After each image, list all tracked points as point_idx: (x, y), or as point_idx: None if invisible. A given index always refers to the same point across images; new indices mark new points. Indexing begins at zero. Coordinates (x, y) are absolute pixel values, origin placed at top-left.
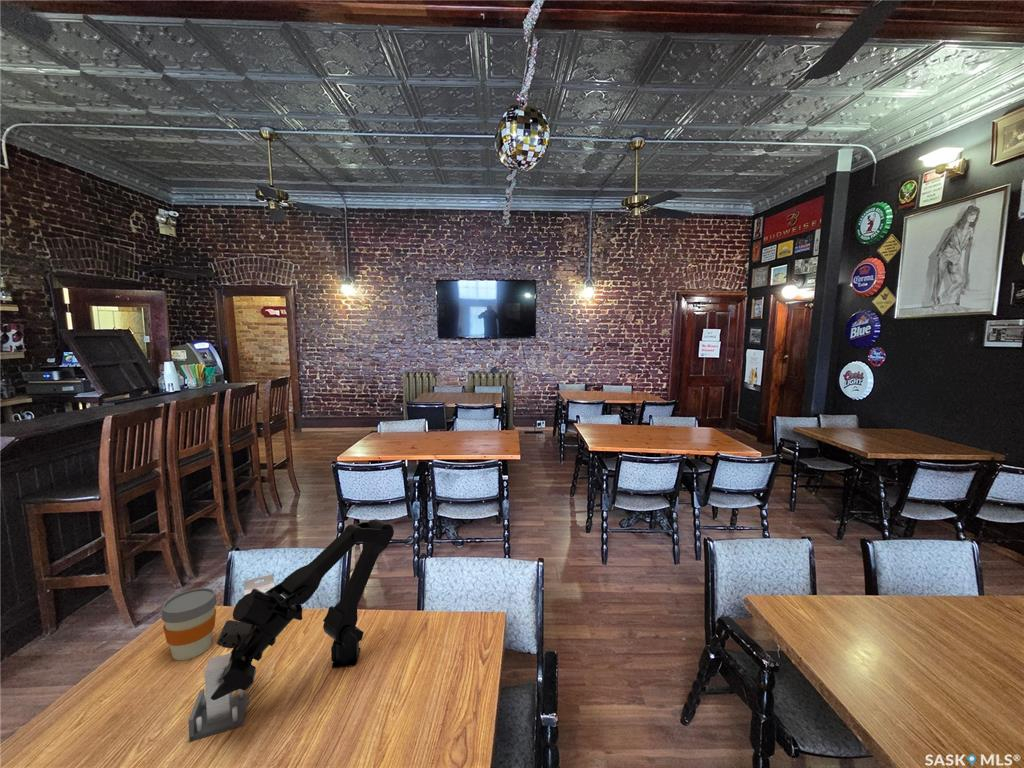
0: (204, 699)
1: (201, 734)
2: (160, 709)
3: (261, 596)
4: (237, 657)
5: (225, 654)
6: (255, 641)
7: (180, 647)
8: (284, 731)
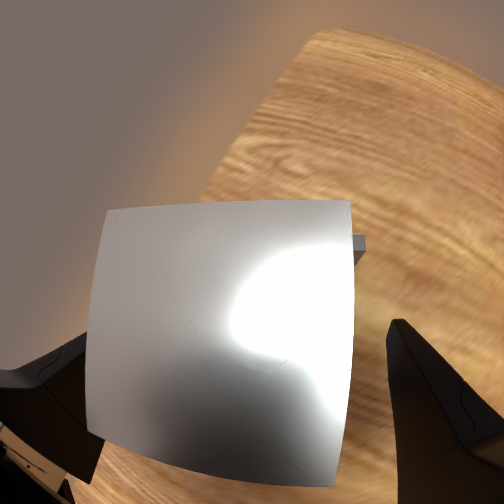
0: (354, 263)
1: None
2: (386, 154)
3: None
4: (409, 436)
5: (341, 416)
6: None
7: None
8: (144, 478)
